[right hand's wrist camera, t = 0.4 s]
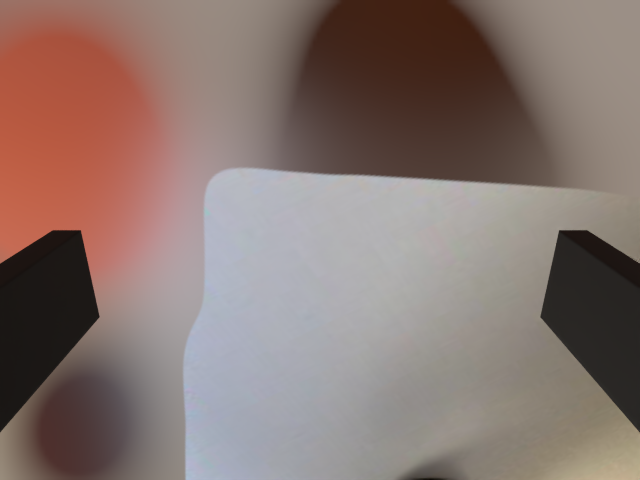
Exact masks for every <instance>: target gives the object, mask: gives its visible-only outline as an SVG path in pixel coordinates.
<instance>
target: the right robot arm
mask: <svg viewBox="0 0 640 480" xmlns="http://www.w3.org/2000/svg"><path fill="white" fill-rule="evenodd" d="M98 318H99V313H98V308H97V303H96V298H95V294H94V289H93V285H92V280H91V275H90V271H89V266H88V262H87V257H86V252H85V248H84V243H83V239H82V234H81V230H53V231H51V232H50V233H48V234H46V235H45V236H43V237H42V238H40V239H38V240H37V241H35V242H34V243H32V244H31V245H29V246H27V247H26V248H24V249H23V250H21V251H20V252H18V253H16V254H15V255H13V256H12V257H10V258H8V259H7V260H5V261H4V262H2V263H1V264H0V432H1V431H2V430H3V428H4V427H5V426H6V425H7V424H8V423H9V421H10V420H11V419H12V418H13V417H14V416H15V414H16V413H17V412H18V411H19V410H20V409H21V408H22V406H23V405H24V404H25V403H26V402H27V401H28V399H29V398H30V397H31V396H32V395H33V394H34V392H35V391H36V390H37V389H38V388H39V387H40V385H41V384H42V383H43V382H44V381H45V380H46V379H47V377H48V376H49V375H50V374H51V373H52V372H53V370H54V369H55V368H56V367H57V366H58V365H59V363H60V362H61V361H62V360H63V359H64V358H65V357H66V355H67V354H68V353H69V352H70V351H71V349H72V348H73V347H74V346H75V345H76V344H77V343H78V341H79V340H80V339H81V338H82V337H83V336H84V334H85V333H86V332H87V331H88V330H89V329H90V327H91V326H92V325H93V324H94V323H95V322H96V321H97V319H98ZM541 318H542V319H543V321H544V322H545V323H546V324H547V325H548V326H549V328H550V329H551V330H552V331H553V332H554V333H555V334H556V336H557V337H558V338H559V339H560V340H561V341H562V343H563V344H564V345H565V346H566V347H567V348H568V350H569V351H570V352H571V353H572V354H573V355H574V357H575V358H576V359H577V360H578V361H579V362H580V363H581V365H582V366H583V367H584V368H585V369H586V370H587V372H588V373H589V374H590V375H591V376H592V377H593V379H594V380H595V381H596V382H597V383H598V384H599V386H600V387H601V388H602V389H603V390H604V391H605V392H606V394H607V395H608V396H609V397H610V398H611V399H612V401H613V402H614V403H615V404H616V405H617V406H618V408H619V409H620V410H621V411H622V412H623V413H624V414H625V416H626V417H627V418H628V419H629V420H630V421H631V423H632V424H633V425H634V426H635V427H636V428H637V430H638V431H639V432H640V264H639V263H638V262H636V261H635V260H633V259H632V258H630V257H628V256H627V255H625V254H624V253H622V252H620V251H619V250H617V249H616V248H614V247H613V246H611V245H609V244H608V243H606V242H605V241H603V240H602V239H600V238H598V237H597V236H595V235H594V234H592V233H590V232H589V231H587V230H559V234H558V238H557V243H556V248H555V252H554V257H553V262H552V266H551V271H550V275H549V280H548V285H547V289H546V294H545V298H544V303H543V308H542V312H541Z"/></svg>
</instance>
